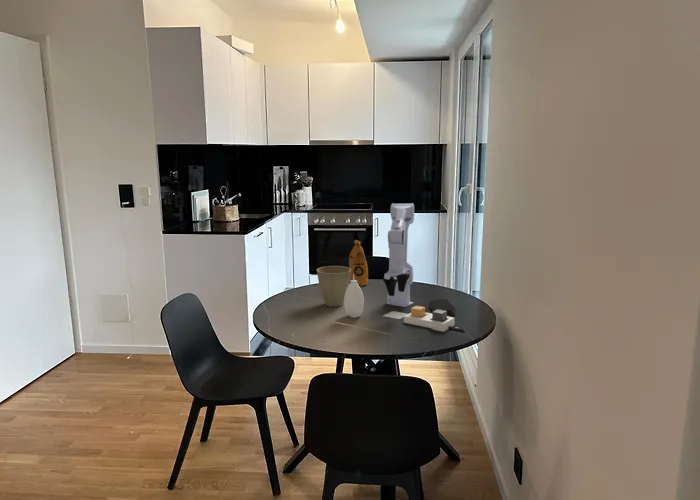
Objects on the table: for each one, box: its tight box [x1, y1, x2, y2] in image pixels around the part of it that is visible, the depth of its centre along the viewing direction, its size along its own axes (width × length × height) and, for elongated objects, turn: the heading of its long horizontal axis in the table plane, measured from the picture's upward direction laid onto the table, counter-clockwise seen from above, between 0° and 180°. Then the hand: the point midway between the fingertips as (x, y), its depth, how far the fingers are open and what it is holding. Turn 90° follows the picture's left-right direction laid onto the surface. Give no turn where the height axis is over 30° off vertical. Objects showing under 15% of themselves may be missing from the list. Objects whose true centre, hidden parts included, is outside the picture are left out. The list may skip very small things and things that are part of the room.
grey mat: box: [382, 310, 408, 320], centre depth 209 cm, size 8×8×1 cm
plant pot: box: [316, 265, 351, 308], centre depth 225 cm, size 15×15×16 cm
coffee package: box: [348, 239, 369, 287], centre depth 262 cm, size 10×12×22 cm
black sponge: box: [428, 298, 456, 317], centre depth 214 cm, size 16×8×4 cm, turn 3°
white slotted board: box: [403, 311, 466, 332], centre depth 196 cm, size 23×9×3 cm, turn 53°
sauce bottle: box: [343, 274, 365, 318], centre depth 206 cm, size 8×8×18 cm
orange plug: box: [410, 305, 426, 318], centre depth 200 cm, size 4×4×6 cm
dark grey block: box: [431, 309, 447, 322], centre depth 194 cm, size 4×4×6 cm
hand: (396, 293), depth 203 cm, fingers open, 7 cm apart
